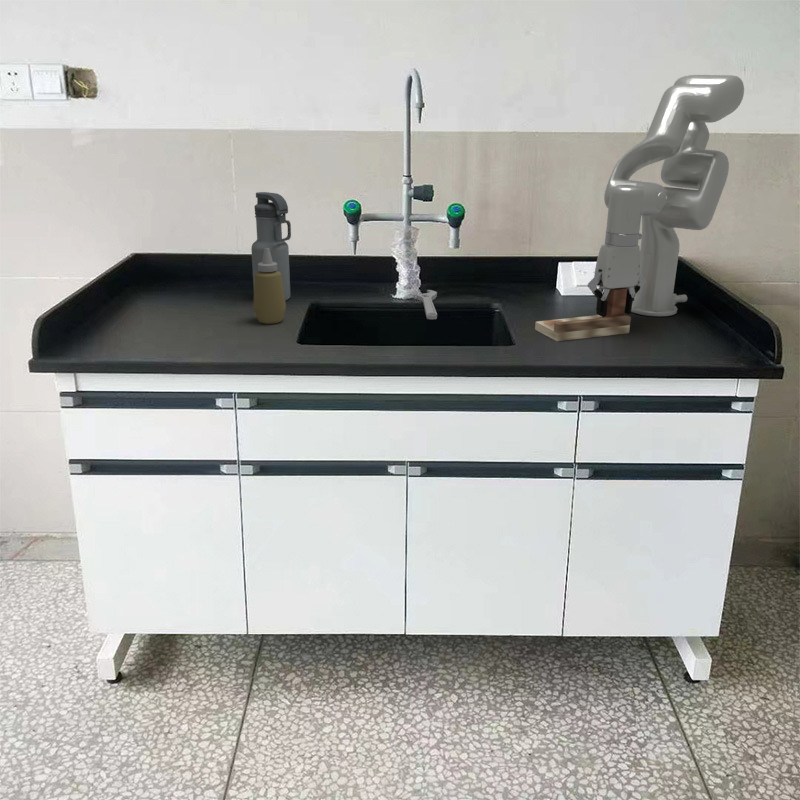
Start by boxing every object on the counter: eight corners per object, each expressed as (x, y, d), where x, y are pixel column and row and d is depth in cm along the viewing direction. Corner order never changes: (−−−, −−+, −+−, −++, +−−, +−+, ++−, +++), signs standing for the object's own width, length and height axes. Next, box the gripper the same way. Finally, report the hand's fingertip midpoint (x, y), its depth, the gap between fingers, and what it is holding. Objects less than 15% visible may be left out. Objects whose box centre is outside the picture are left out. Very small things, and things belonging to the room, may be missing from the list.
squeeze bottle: (293, 319, 204) (290, 247, 198) (275, 327, 198) (271, 253, 191) (265, 315, 208) (262, 244, 201) (247, 323, 201) (242, 249, 194)
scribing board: (604, 321, 205) (606, 306, 203) (629, 333, 196) (630, 316, 195) (535, 329, 198) (536, 313, 197) (556, 341, 189) (558, 324, 188)
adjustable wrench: (437, 321, 206) (437, 314, 205) (412, 321, 206) (412, 314, 205) (436, 295, 229) (436, 289, 228) (413, 295, 229) (413, 289, 228)
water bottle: (299, 297, 224) (295, 193, 213) (275, 305, 216) (270, 197, 206) (270, 292, 229) (265, 190, 218) (246, 299, 221) (240, 194, 211)
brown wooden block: (608, 314, 203) (612, 283, 200) (623, 321, 197) (627, 288, 195) (596, 316, 202) (599, 284, 199) (610, 322, 196) (614, 289, 193)
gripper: (642, 234, 197) (633, 307, 204) (581, 239, 192) (574, 313, 198) (662, 240, 191) (652, 314, 198) (599, 244, 185) (591, 321, 192)
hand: (613, 313), depth 198 cm, fingers open, 6 cm apart
